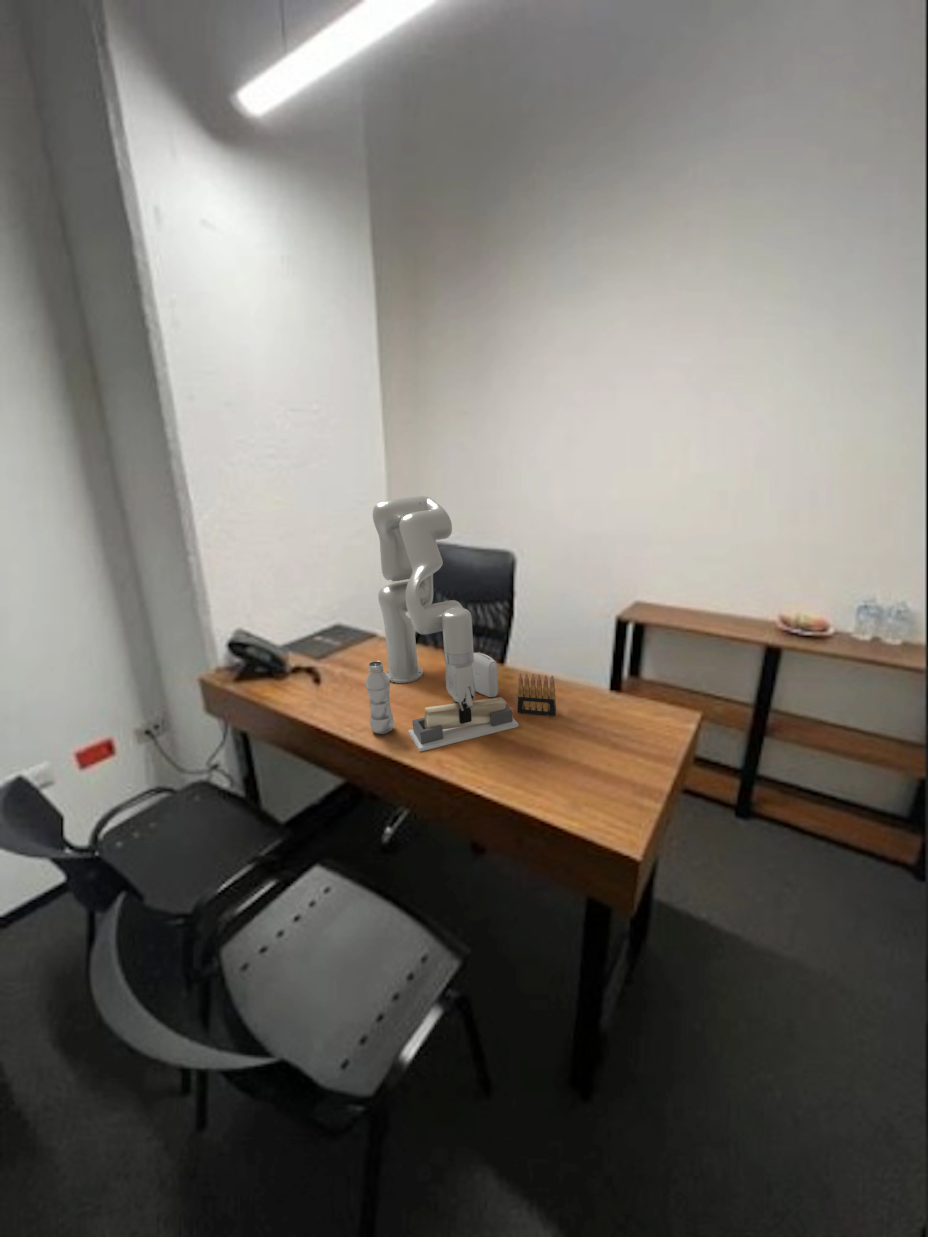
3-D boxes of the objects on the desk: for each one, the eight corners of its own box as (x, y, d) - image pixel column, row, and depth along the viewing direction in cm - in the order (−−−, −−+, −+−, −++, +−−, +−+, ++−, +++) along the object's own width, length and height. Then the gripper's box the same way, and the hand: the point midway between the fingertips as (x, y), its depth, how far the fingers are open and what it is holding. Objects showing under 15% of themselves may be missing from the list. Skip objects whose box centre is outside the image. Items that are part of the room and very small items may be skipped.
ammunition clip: (517, 712, 161) (516, 674, 157) (518, 709, 162) (517, 671, 158) (555, 716, 158) (555, 677, 154) (556, 713, 159) (556, 674, 155)
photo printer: (467, 688, 177) (465, 652, 173) (478, 684, 179) (476, 648, 175) (490, 699, 169) (488, 661, 165) (500, 694, 172) (499, 657, 168)
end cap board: (408, 733, 153) (407, 718, 152) (502, 710, 162) (502, 696, 161) (419, 751, 144) (418, 736, 143) (518, 726, 153) (518, 711, 152)
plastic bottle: (389, 722, 159) (382, 656, 153) (398, 732, 154) (391, 665, 147) (367, 729, 156) (359, 662, 150) (376, 739, 151) (368, 671, 144)
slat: (424, 726, 150) (424, 707, 148) (500, 715, 158) (501, 697, 156) (428, 731, 147) (428, 712, 146) (504, 720, 155) (505, 701, 153)
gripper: (435, 648, 152) (440, 709, 158) (456, 670, 137) (461, 736, 143) (461, 643, 154) (465, 703, 160) (485, 664, 140) (488, 730, 146)
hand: (463, 718), depth 152 cm, fingers closed on slat, 2 cm apart
